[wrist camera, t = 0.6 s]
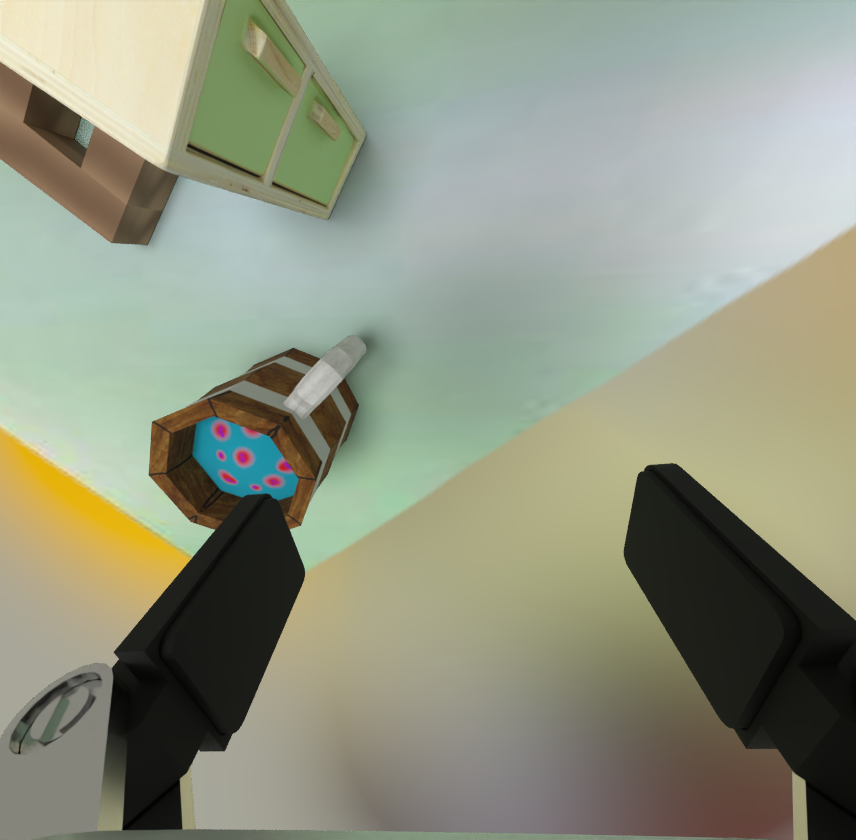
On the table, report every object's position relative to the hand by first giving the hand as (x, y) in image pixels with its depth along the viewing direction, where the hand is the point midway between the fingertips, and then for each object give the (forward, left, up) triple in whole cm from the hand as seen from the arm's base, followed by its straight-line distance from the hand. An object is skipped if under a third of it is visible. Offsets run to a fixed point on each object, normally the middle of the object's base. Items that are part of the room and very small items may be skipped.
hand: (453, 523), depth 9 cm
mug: (+15, -6, -30) cm, 34 cm away
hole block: (+8, -33, -29) cm, 45 cm away
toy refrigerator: (-3, -18, -30) cm, 35 cm away
